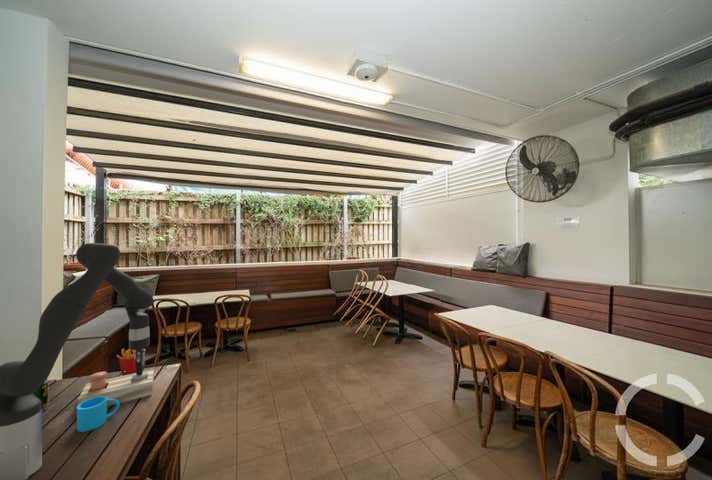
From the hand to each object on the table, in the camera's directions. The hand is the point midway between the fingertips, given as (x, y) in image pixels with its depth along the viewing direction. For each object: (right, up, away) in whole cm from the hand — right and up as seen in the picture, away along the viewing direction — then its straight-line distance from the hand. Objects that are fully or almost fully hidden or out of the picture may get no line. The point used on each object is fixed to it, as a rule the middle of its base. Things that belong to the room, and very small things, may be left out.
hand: (139, 374), depth 126 cm
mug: (+1, -8, -21) cm, 23 cm away
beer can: (-31, -8, -14) cm, 34 cm away
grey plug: (0, -7, 0) cm, 7 cm away
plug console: (-6, -8, -4) cm, 10 cm away
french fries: (-15, -8, +13) cm, 21 cm away
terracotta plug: (-12, -3, -8) cm, 14 cm away
